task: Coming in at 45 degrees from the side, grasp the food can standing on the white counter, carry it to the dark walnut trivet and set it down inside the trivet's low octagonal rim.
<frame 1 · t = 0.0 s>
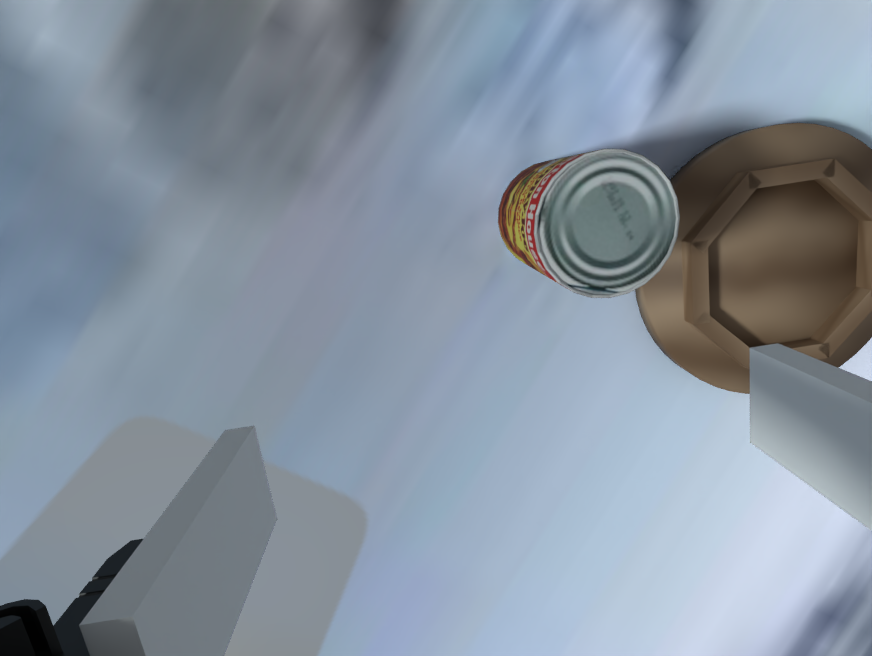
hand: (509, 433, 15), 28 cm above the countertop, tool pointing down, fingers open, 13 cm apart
hub trivet: (761, 263, 43), on the countertop
canned food: (549, 216, 41), on the countertop
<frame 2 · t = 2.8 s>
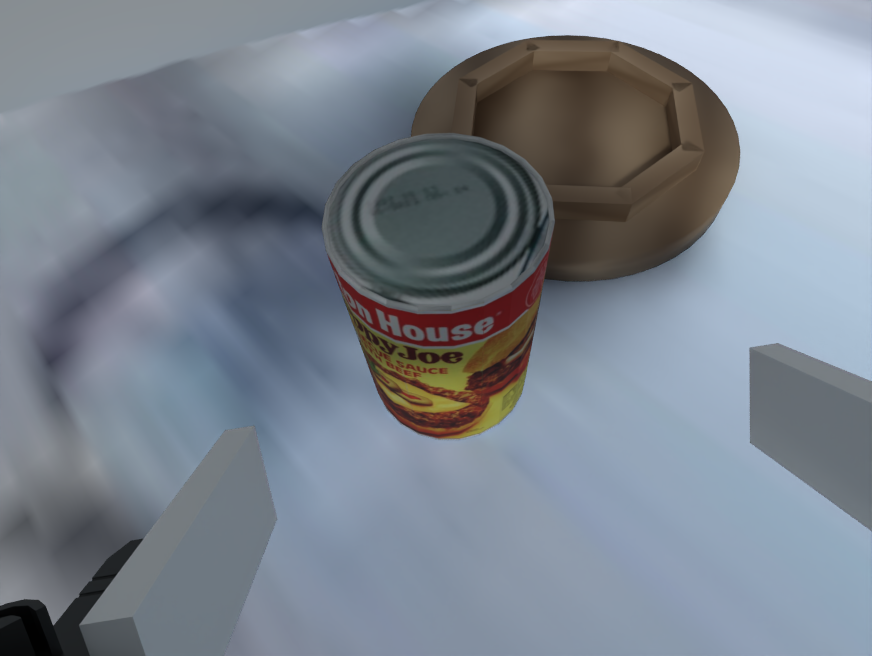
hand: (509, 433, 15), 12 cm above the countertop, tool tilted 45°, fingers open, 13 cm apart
hub trivet: (565, 156, 36), on the countertop
canned food: (450, 370, 29), on the countertop
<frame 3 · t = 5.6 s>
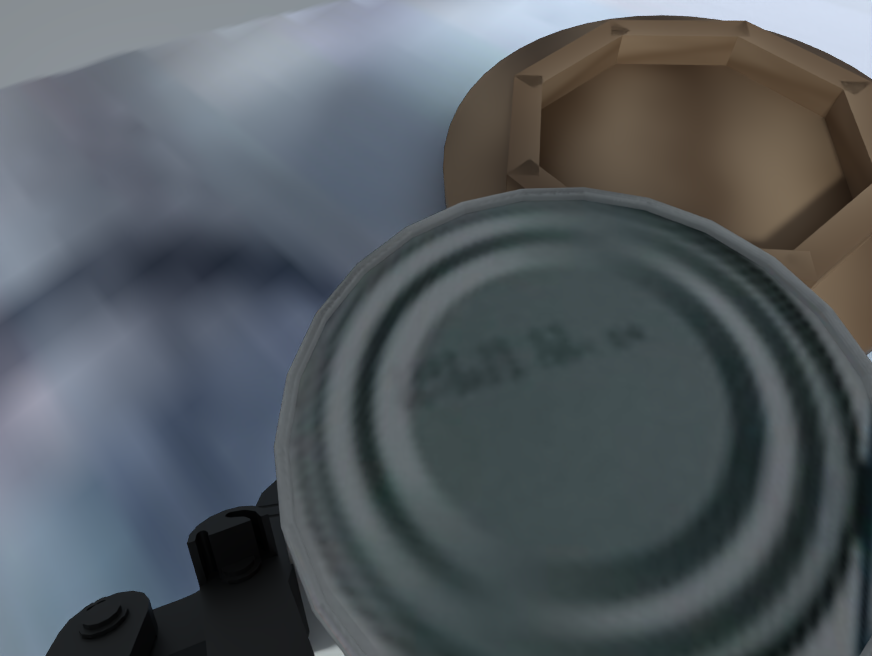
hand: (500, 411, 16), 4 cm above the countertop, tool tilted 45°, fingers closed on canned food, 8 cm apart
hub trivet: (669, 189, 25), on the countertop
canned food: (516, 556, 18), on the countertop, touching gripper
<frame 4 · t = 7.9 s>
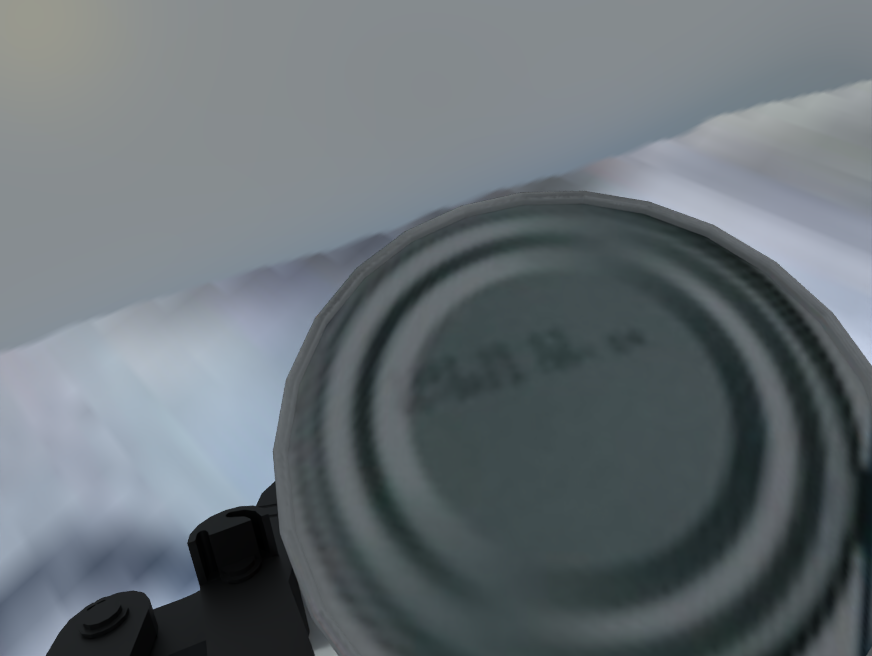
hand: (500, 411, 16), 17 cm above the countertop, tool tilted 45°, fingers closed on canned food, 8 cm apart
canned food: (516, 558, 18), point 13 cm above the countertop, touching gripper
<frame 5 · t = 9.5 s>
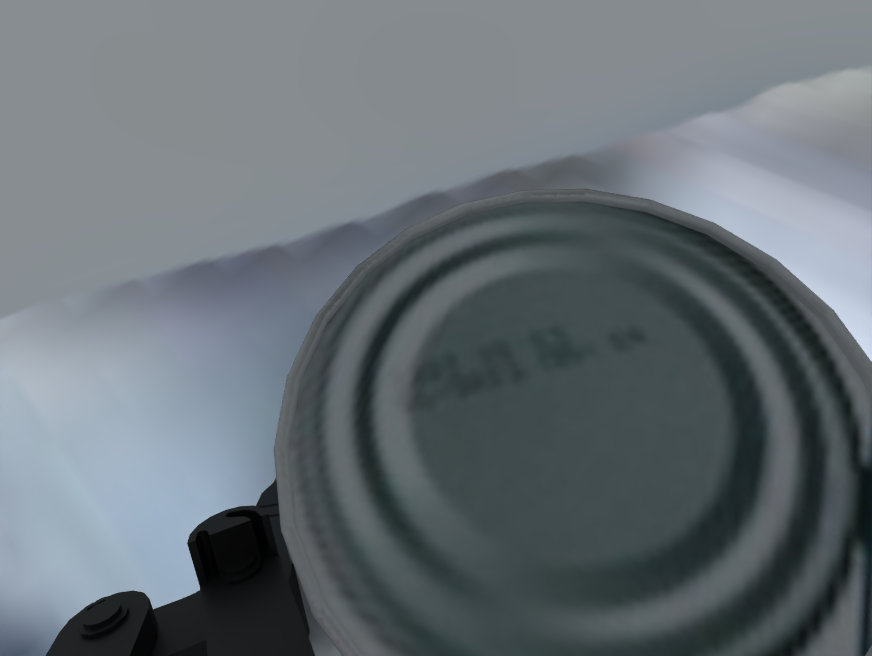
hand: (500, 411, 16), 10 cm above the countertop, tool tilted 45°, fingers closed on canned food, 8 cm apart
canned food: (517, 557, 18), point 6 cm above the countertop, touching gripper
when the fingers open (7 cm above the countertop, at t = 10.5 s): canned food drops 1 cm, resting on hub trivet.
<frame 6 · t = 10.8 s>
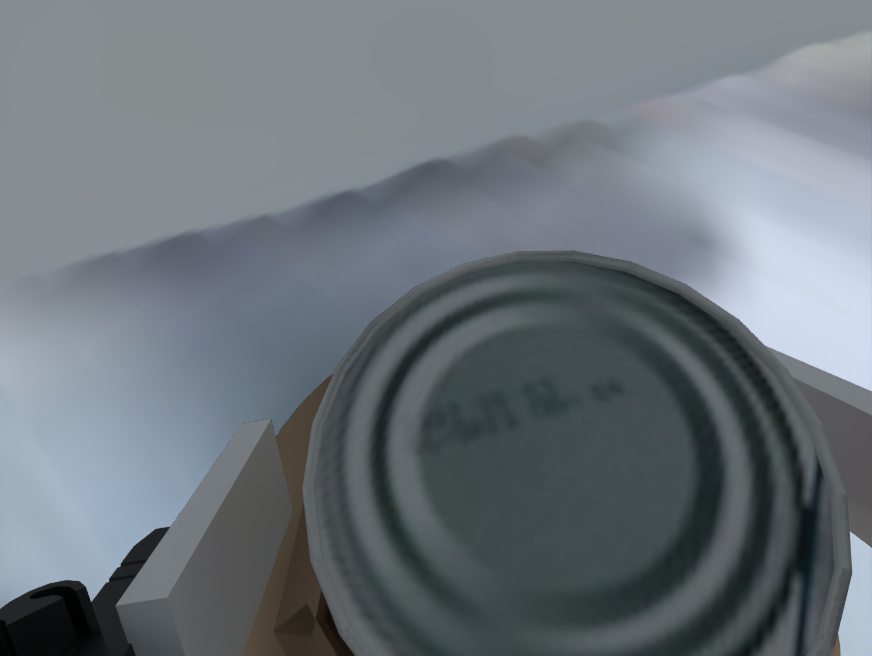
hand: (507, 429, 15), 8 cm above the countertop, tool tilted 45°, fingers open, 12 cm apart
hub trivet: (511, 569, 20), on the countertop
canned food: (513, 566, 19), point 2 cm above the countertop, touching hub trivet
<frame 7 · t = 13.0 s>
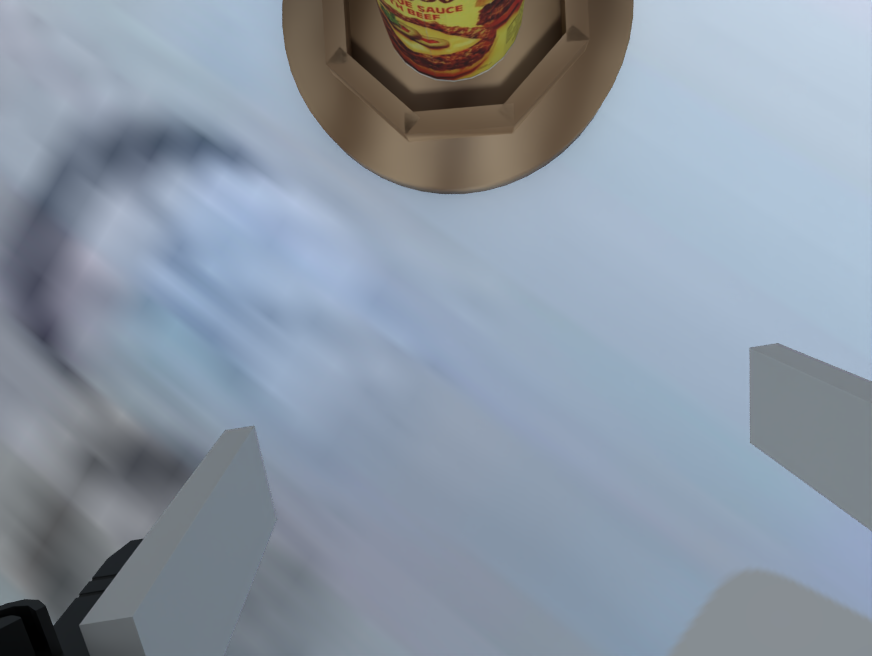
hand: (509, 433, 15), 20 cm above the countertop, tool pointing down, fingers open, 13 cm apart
hub trivet: (455, 27, 33), on the countertop
canned food: (453, 13, 32), point 2 cm above the countertop, touching hub trivet
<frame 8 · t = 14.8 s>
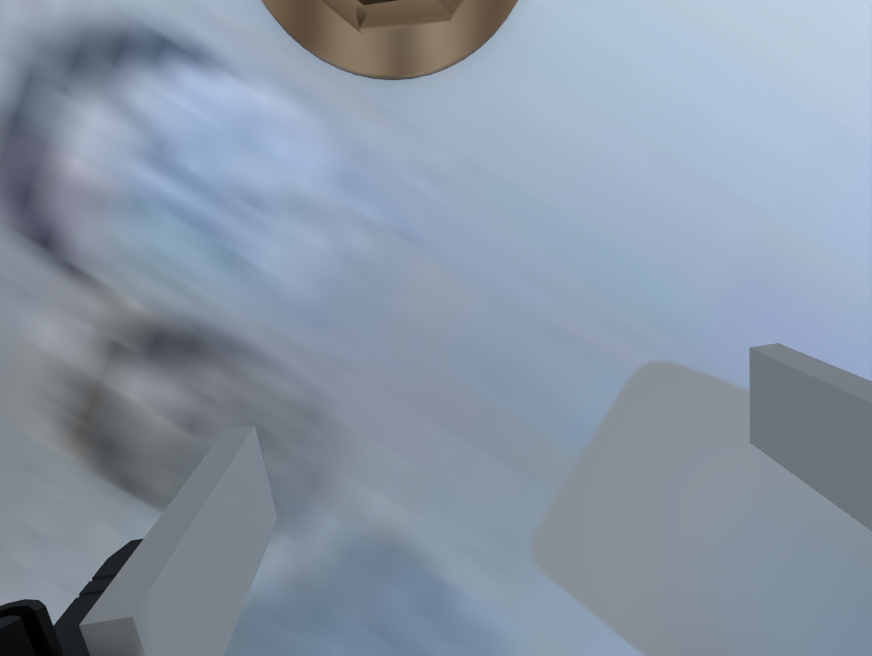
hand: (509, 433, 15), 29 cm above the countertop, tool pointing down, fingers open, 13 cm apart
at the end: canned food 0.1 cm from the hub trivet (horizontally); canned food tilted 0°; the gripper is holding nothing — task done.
